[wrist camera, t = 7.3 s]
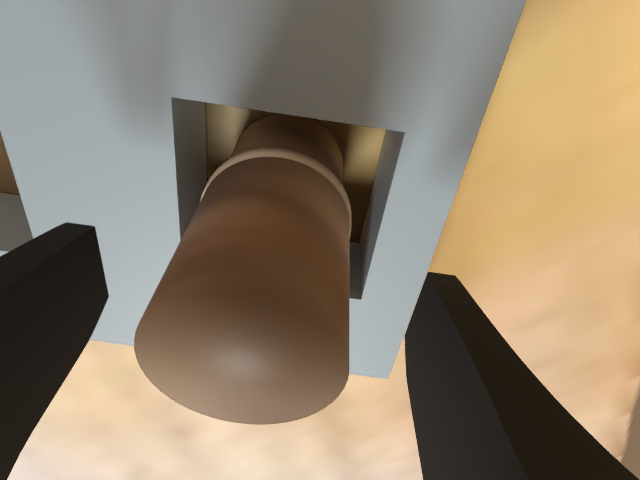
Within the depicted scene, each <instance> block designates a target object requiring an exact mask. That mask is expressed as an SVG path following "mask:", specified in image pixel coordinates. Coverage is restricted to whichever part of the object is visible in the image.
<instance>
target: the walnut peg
mask: <svg viewBox="0 0 640 480" xmlns="http://www.w3.org/2000/svg"><path fill="white" fill-rule="evenodd" d="M350 234H351V206H350V202H349V199H348V195H347V193H346V191H345V189H344V187H343V156H342V152H341V149H340V147H339V145H338V143H337V141H336V139H335V138H334V136H333V135H332V134H331V133H330V132H329V131H328V130H327V129H326V128H325V127H324V126H323V125H321V124H320V123H318V122H317V121H315V120H313V119H311V118H307V117H300V116H293V115H287V114H280V113H277V114H271V115H268V116H265V117H263V118H260V119H258V120H257V121H255V122H254V123H252V124H251V125H250V126H249V127H248V128H247V129H246V130H245V131H244V132H243V134H242V135H241V137H240V139H239V141H238V143H237V145H236V147H235V149H234V151H233V153H232V155H231V158H230V159H228V160H227V161H225V162H224V163H223V164H222V165H221V166H219V167H218V169H217V170H216V171H215V172H214V173H213V175H212V176H211V178H210V179H209V181H208V183H207V185H206V187H205V189H204V191H203V194H202V196H201V200H200V203H199V205H198V207H197V209H196V211H195V213H194V215H193V217H192V219H191V221H190V223H189V225H188V227H187V229H186V231H185V233H184V235H183V237H182V239H181V241H180V243H179V245H178V247H177V249H176V251H175V253H174V255H173V257H172V259H171V261H170V263H169V264H168V266H167V268H166V270H165V272H164V274H163V276H162V278H161V280H160V282H159V284H158V286H157V288H156V290H155V292H154V294H153V296H152V298H151V300H150V302H149V304H148V306H147V308H146V310H145V312H144V314H143V316H142V318H141V320H140V322H139V324H138V327H137V329H136V331H135V337H134V350H135V354H136V358H137V361H138V363H139V365H140V367H141V369H142V371H143V372H144V374H145V375H146V377H147V378H148V379H149V380H150V381H151V382H152V384H153V385H155V386H156V387H157V388H158V389H159V390H160V391H161V392H162V393H164V394H165V395H166V396H168V397H169V398H171V399H172V400H174V401H175V402H177V403H179V404H180V405H182V406H184V407H186V408H188V409H190V410H193V411H195V412H198V413H200V414H203V415H206V416H209V417H212V418H216V419H220V420H224V421H229V422H235V423H243V424H277V423H285V422H290V421H294V420H298V419H301V418H305V417H307V416H310V415H312V414H314V413H317V412H318V411H320V410H322V409H324V408H325V407H327V406H328V405H329V404H331V403H332V402H333V401H334V400H335V399H336V398H337V397H338V396H339V395H340V393H341V392H342V390H343V389H344V387H345V385H346V383H347V380H348V376H349V251H350Z"/></svg>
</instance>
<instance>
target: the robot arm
mask: <svg viewBox="0 0 640 480" xmlns="http://www.w3.org/2000/svg"><path fill="white" fill-rule="evenodd" d="M108 298H109V294H108V289H107V284H106V279H105V274H104V269H103V264H102V259H101V254H100V249H99V244H98V239H97V234H96V229H95V226H90V225H83V224H75V223H68V222H66V223H63V224H61V225H59V226H57V227H55V228H53V229H51V230H49V231H47V232H45V233H43V234H41V235H39V236H37V237H35V238H34V239H32V240H30V241H28V242H26V243H24V244H22V245H21V246H19V247H17V248H15V249H13V250H11V251H9V252H8V253H6V254H4V255H2V256H0V480H7V478H8V476H9V474H10V472H11V470H12V468H13V466H14V464H15V462H16V460H17V458H18V456H19V454H20V452H21V451H22V449H23V447H24V445H25V444H26V442H27V440H28V438H29V437H30V435H31V433H32V431H33V430H34V428H35V427H36V425H37V423H38V422H39V420H40V419H41V417H42V415H43V414H44V412H45V411H46V409H47V407H48V406H49V404H50V403H51V401H52V399H53V398H54V396H55V395H56V393H57V391H58V390H59V388H60V387H61V385H62V383H63V382H64V380H65V379H66V377H67V375H68V374H69V372H70V371H71V369H72V367H73V366H74V364H75V363H76V361H77V359H78V358H79V356H80V354H81V353H82V351H83V349H84V348H85V346H86V345H87V343H88V341H89V339H90V338H91V336H92V334H93V332H94V329H95V327H96V325H97V323H98V321H99V319H100V316H101V314H102V312H103V309H104V307H105V305H106V302H107V300H108ZM405 357H406V377H407V384H408V390H409V397H410V403H411V409H412V415H413V421H414V427H415V433H416V439H417V445H418V451H419V457H420V462H421V468H422V474H423V480H639V479H638V478H637V477H635V476H634V475H633V474H632V473H631V472H630V471H629V470H628V469H626V468H625V467H624V466H623V465H622V464H621V463H620V462H619V461H618V460H617V459H616V458H615V457H613V456H612V455H611V454H610V453H609V452H608V451H607V450H606V449H605V448H604V447H603V446H602V445H601V444H600V443H599V442H598V441H597V440H596V439H595V438H594V437H593V436H592V435H591V434H590V433H589V432H588V431H587V430H586V429H585V428H584V427H583V426H582V425H581V424H580V423H578V422H577V421H576V420H575V419H574V418H573V417H572V416H571V415H570V413H569V412H568V411H567V410H566V409H565V408H564V407H563V406H562V405H561V404H560V403H559V402H558V401H557V400H556V399H555V398H554V397H553V395H552V394H551V393H550V392H549V391H548V390H547V389H546V388H545V386H544V385H543V384H542V383H541V382H540V381H539V380H538V379H537V378H536V376H535V375H534V374H533V373H532V372H531V371H530V370H529V368H528V367H527V366H526V365H525V364H524V363H523V361H522V360H521V359H520V358H519V357H518V355H517V354H516V353H515V352H514V351H513V349H512V348H511V347H510V346H509V344H508V343H507V342H506V341H505V339H504V338H503V337H502V336H501V334H500V333H499V332H498V331H497V329H496V328H495V327H494V325H493V324H492V323H491V322H490V320H489V319H488V318H487V316H486V315H485V314H484V312H483V311H482V310H481V308H480V307H479V306H478V305H477V303H476V302H475V301H474V299H473V298H472V297H471V295H470V294H469V293H468V291H467V290H466V289H465V287H464V286H463V285H462V283H461V282H460V281H459V280H458V278H457V277H456V276H454V275H447V274H439V273H432V272H428V273H427V276H426V279H425V281H424V284H423V287H422V290H421V292H420V295H419V298H418V301H417V303H416V306H415V309H414V312H413V314H412V317H411V320H410V323H409V325H408V328H407V331H406V334H405Z"/></svg>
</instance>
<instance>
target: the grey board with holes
mask: <svg viewBox="0 0 640 480" xmlns="http://www.w3.org/2000/svg"><path fill="white" fill-rule="evenodd" d="M525 2H526V0H0V131H1V135H2V138H3V141H4V144H5V148H6V151H7V154H8V157H9V161H10V164H11V167H12V170H13V174H14V177H15V180H16V183H17V187H18V190H19V193H20V195H15V194H8V193H1V192H0V256H2V255H4V254H6V253H8V252H9V251H11V250H13V249H15V248H17V247H19V246H21V245H22V244H24V243H26V242H28V241H30V240H32V239H34V238H35V237H37V236H39V235H41V234H43V233H45V232H47V231H49V230H51V229H53V228H55V227H57V226H59V225H61V224H63V223H66V222H68V223H75V224H83V225H90V226H95V229H96V234H97V239H98V244H99V249H100V254H101V259H102V264H103V269H104V274H105V279H106V284H107V289H108V294H109V298H108V300H107V302H106V305H105V307H104V309H103V312H102V314H101V316H100V319H99V321H98V323H97V325H96V327H95V329H94V332H93V334H92V336H91V338H90V339H89V340H92V341H100V342H108V343H115V344H123V345H131V346H134V337H135V331H136V329H137V327H138V324H139V322H140V320H141V318H142V316H143V314H144V312H145V310H146V308H147V306H148V304H149V302H150V300H151V298H152V296H153V294H154V292H155V290H156V288H157V286H158V284H159V282H160V280H161V278H162V276H163V274H164V272H165V270H166V268H167V266H168V264H169V263H170V261H171V259H172V257H173V255H174V253H175V251H176V249H177V247H178V245H179V243H180V241H181V239H182V237H183V235H184V233H185V231H186V229H187V227H188V225H189V223H190V221H191V219H192V217H193V215H194V213H195V211H196V209H197V207H198V205H199V203H200V200H201V196H202V194H203V191H204V189H205V187H206V185H207V164H206V110H205V102H207V103H213V104H220V105H227V106H233V107H240V108H247V109H253V110H260V111H267V112H273V113H280V114H287V115H293V116H300V117H307V118H313V119H320V120H327V121H333V122H340V123H346V124H353V125H360V126H366V127H373V128H380V129H386V132H385V136H384V140H383V145H382V149H381V153H380V158H379V162H378V166H377V170H376V175H375V179H374V183H373V187H372V192H371V196H370V200H369V205H368V209H367V213H366V217H365V222H364V226H363V230H362V234H361V239H360V243H356V242H350V251H349V374H354V375H361V376H369V377H377V378H384V379H388V378H389V375H390V373H391V370H392V367H393V364H394V362H395V359H396V356H397V353H398V351H399V348H400V345H401V342H402V340H403V337H404V334H405V331H406V329H407V326H408V323H409V320H410V318H411V315H412V312H413V309H414V307H415V304H416V301H417V298H418V296H419V293H420V290H421V288H422V285H423V282H424V279H425V277H426V274H427V271H428V268H429V266H430V263H431V260H432V257H433V255H434V252H435V249H436V246H437V244H438V241H439V238H440V235H441V233H442V230H443V227H444V224H445V222H446V219H447V216H448V213H449V211H450V208H451V205H452V202H453V200H454V197H455V194H456V191H457V189H458V186H459V183H460V180H461V178H462V175H463V172H464V169H465V167H466V164H467V161H468V159H469V156H470V153H471V150H472V148H473V145H474V142H475V139H476V137H477V134H478V131H479V128H480V126H481V123H482V120H483V117H484V115H485V112H486V109H487V106H488V104H489V101H490V98H491V95H492V93H493V90H494V87H495V84H496V82H497V79H498V76H499V73H500V71H501V68H502V65H503V62H504V60H505V57H506V54H507V51H508V49H509V46H510V43H511V40H512V38H513V35H514V32H515V29H516V27H517V24H518V21H519V19H520V16H521V13H522V10H523V8H524V5H525Z"/></svg>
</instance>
